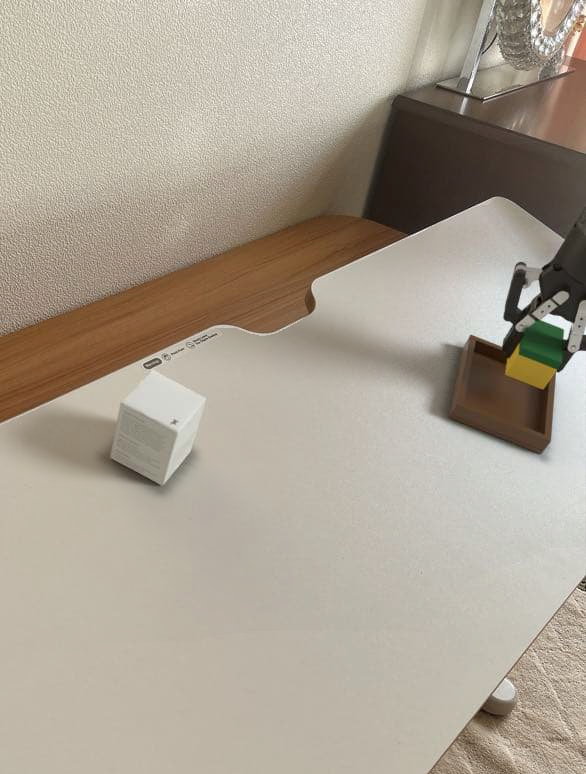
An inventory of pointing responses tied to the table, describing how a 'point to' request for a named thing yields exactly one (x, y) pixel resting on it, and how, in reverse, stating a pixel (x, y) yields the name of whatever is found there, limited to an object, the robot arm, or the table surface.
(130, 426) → the product box
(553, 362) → the sponge
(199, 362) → the table surface
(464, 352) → the tray
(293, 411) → the table surface
